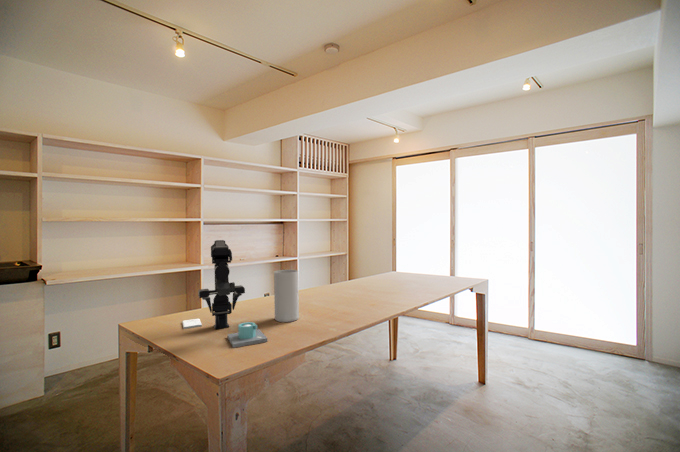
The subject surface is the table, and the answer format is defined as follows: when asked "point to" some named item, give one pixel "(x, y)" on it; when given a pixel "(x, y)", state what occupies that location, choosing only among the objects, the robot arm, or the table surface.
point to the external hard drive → (191, 323)
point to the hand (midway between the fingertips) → (222, 311)
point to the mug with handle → (246, 330)
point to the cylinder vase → (286, 295)
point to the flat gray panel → (244, 342)
